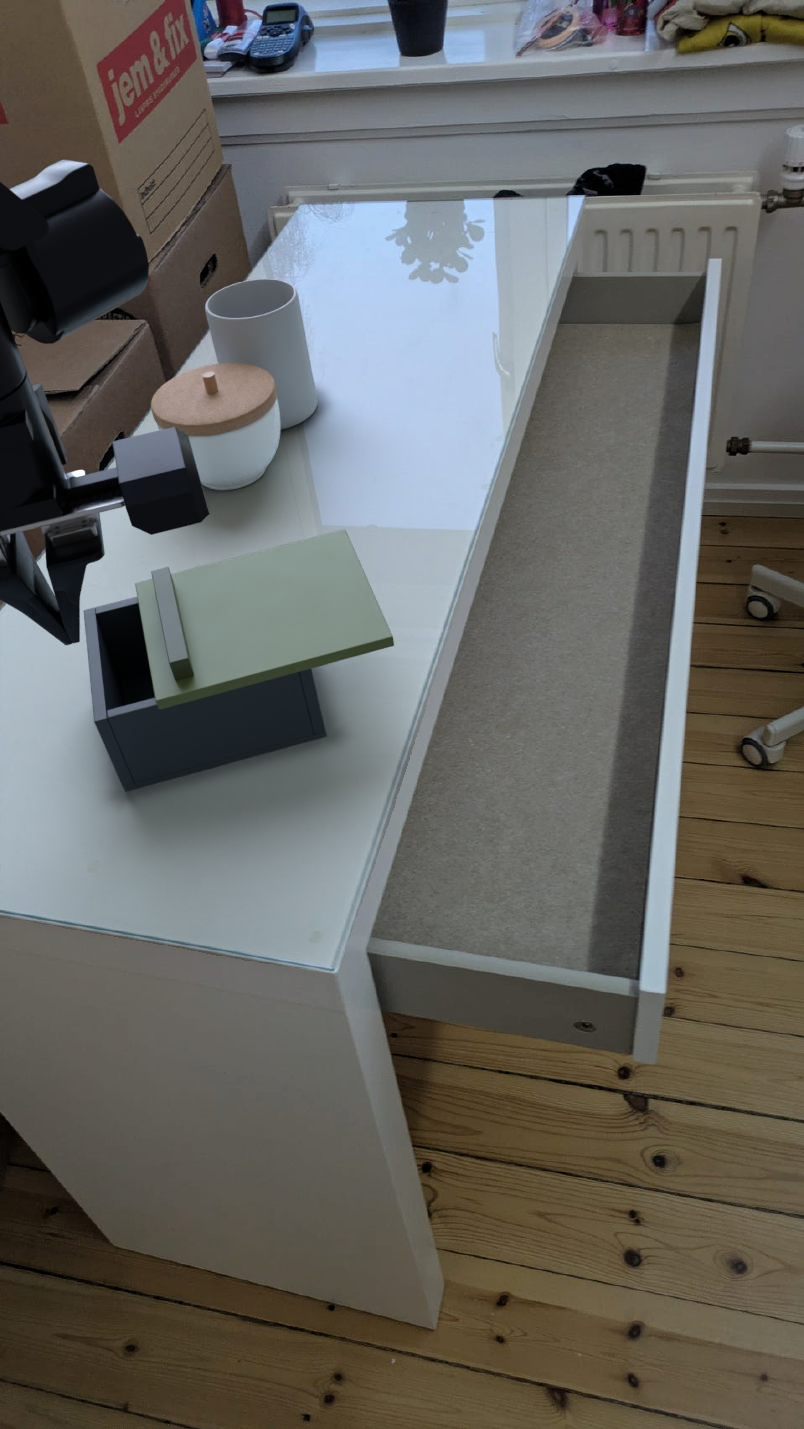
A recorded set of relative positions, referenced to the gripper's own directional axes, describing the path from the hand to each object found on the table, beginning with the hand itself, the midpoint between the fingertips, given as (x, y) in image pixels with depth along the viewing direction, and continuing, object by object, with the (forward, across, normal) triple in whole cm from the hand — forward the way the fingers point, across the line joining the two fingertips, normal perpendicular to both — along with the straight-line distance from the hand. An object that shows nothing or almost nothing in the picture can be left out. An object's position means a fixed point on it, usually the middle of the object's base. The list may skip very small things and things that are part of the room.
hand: (72, 639), depth 62 cm
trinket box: (+13, -12, -36) cm, 40 cm away
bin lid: (+6, -11, -6) cm, 14 cm away
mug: (+13, -18, -47) cm, 52 cm away
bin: (+13, -6, -6) cm, 15 cm away
